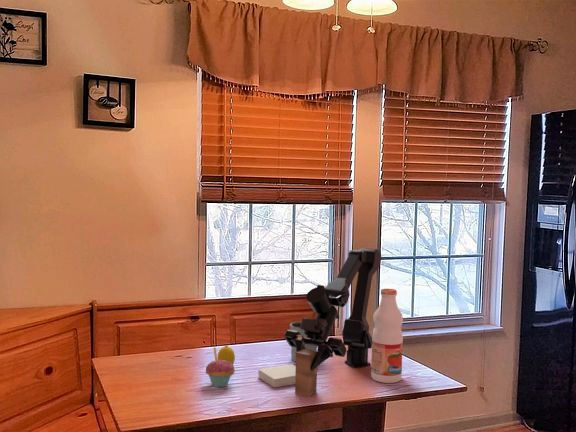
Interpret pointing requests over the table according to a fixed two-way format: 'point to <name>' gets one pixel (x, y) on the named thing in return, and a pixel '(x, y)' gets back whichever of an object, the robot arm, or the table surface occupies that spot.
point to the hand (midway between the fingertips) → (303, 368)
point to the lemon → (226, 354)
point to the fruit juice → (387, 340)
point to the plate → (278, 375)
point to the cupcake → (219, 371)
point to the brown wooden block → (305, 373)
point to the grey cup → (296, 327)
